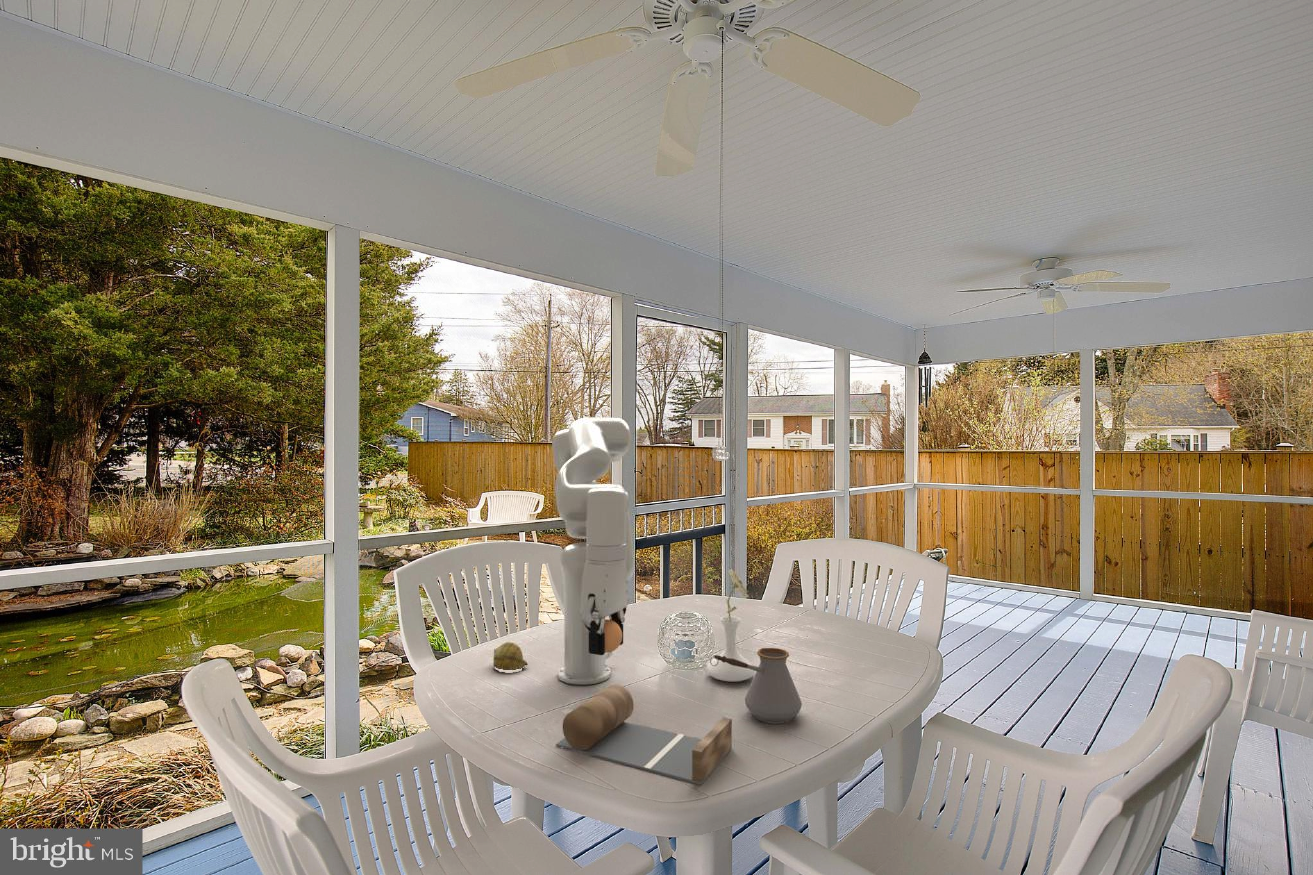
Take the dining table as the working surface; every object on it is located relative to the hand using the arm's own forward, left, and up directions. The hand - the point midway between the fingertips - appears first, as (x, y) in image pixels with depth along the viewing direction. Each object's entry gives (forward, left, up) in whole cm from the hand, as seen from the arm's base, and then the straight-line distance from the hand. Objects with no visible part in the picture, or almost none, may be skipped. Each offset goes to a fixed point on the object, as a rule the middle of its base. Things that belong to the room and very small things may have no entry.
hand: (606, 647), depth 122 cm
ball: (0, 0, +2) cm, 2 cm away
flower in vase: (-41, +9, -17) cm, 46 cm away
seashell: (-21, -41, -17) cm, 49 cm away
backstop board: (0, +22, -17) cm, 28 cm away
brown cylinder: (0, -2, -17) cm, 17 cm away
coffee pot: (-20, +22, -17) cm, 35 cm away
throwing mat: (0, +8, -17) cm, 19 cm away
